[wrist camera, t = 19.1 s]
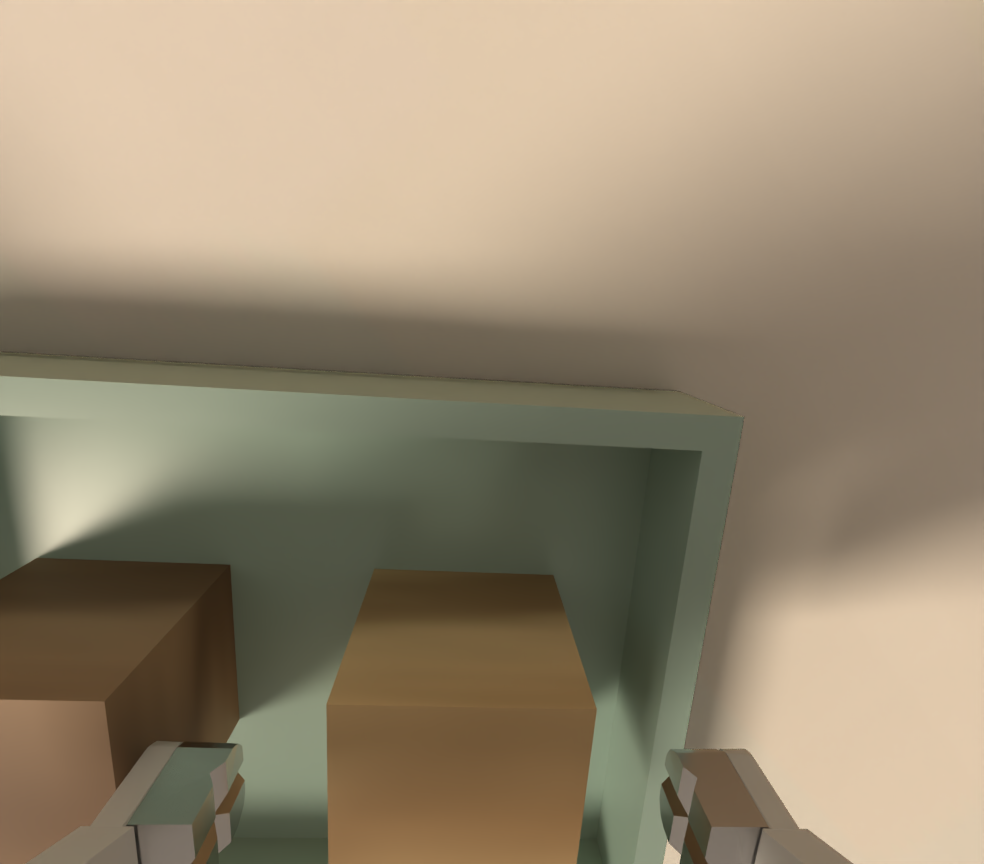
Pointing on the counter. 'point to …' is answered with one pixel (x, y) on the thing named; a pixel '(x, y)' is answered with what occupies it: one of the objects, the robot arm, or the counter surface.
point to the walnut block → (103, 683)
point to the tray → (387, 539)
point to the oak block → (458, 724)
